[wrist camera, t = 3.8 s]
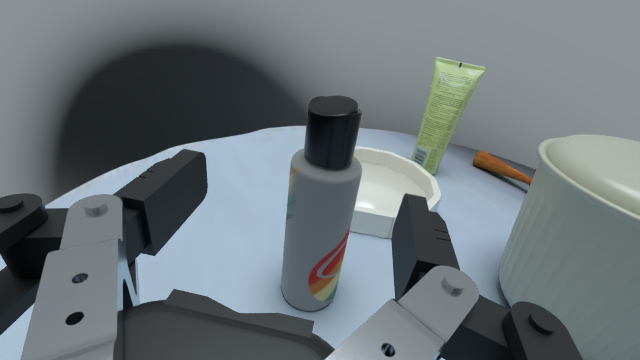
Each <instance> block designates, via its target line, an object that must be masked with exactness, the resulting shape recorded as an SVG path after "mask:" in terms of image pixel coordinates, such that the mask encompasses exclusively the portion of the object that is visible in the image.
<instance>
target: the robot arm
mask: <svg viewBox="0 0 640 360" xmlns="http://www.w3.org/2000/svg"><path fill="white" fill-rule="evenodd" d="M207 188H208V184H207V170H206V157H205V155H204V153H202V152H197V151H192V150H187V149H183V150H181V151H180V152H179V153H177V154H176V155H175V156H173V157H172V158H171V159H170V158H168V159H166V160H163V161H160V162H158V163H155V164H154V165H153V166H151V167H150V168H149V169H147V171H145V172H143V173H142V174H140V175H139V177H136V178H135V179H134V180H132V181H131V182H130V183H128V184H127V185H126V186H124V187H123V188H121V189H120V190H119V191H117V192H116V193H115V194H113V195H108V194H101V195H94V196H89V197H86V198H83V199H81V200H79V201H77V202H75V203H74V204H73V205H72V206H71V207H70V208H57V209H45V206H44V204H43V202H42V199H41V198H40V197H39V196H37V195H34V194H15V195H9V196H5V197H2V198H0V254H1V256H2V258H3V260H4V261H5V263H6V265H7V266H6V267H5V268H4V269H2V270H1V271H0V335H1V334H2V333H3V332H4V331H5V330H6V329H7V328H9V327H10V326H11V325H12V324H13V323H14V322H15V321H16V320H17V319H18V318H19V317H20V316H21V315H22V314H23V313H24V312H25V311H26V310H27V309H28V308H29V307H31V306H32V305H33V304H34V303H35V304H34V308H33V312H32V316H31V320H30V324H29V328H28V332H27V336H26V340H25V344H24V348H23V352H22V356H21V360H441V358H444V359H445V360H583V358H582V357H581V355H580V353H579V351H578V349H577V347H576V345H575V343H574V341H573V339H572V337H571V335H570V333H569V332H568V330H567V328H566V327H565V326H564V324H563V323H562V322H561V321H560V320H559V319H558V318H557V317H556V316H555V315H554V314H552V313H551V312H550V311H548V310H546V309H545V308H543V307H541V306H539V305H537V304H534V303H531V302H526V301H520V302H517V303H515V304H513V306H512V307H511V309H508V308H506V307H503V306H501V305H499V304H497V303H495V302H493V301H490V300H488V299H486V298H484V297H483V296H481V295H480V294H479V291H478V288H477V286H476V284H475V283H474V281H473V280H472V279H471V278H470V277H469V276H468V275H466V274H465V273H463V272H462V271H460V268H459V265H458V261H457V258H456V255H455V252H454V248H453V245H452V242H451V239H450V236H449V234H448V229H447V226H446V223H445V221H444V220H443V219H442V218H441V217H440V215H439V214H438V213H437V212H432V211H429V208H428V204H427V200H426V198H425V197H422V196H417V195H412V194H407V193H405V194H404V196H403V199H402V202H401V205H400V208H399V211H398V214H397V217H396V220H395V223H394V226H393V231H392V255H393V271H394V287H395V299H391V300H389V301H388V302H387V303H386V304H384V305H383V306H382V307H381V308H380V309H379V310H378V311H377V312H376V313H375V314H374V315H372V316H371V317H370V318H369V319H368V320H367V321H366V322H365V323H364V324H363V325H362V326H361V327H359V328H358V329H357V330H356V331H355V332H354V333H353V334H352V335H351V336H350V337H349V338H348V339H346V340H345V341H344V342H343V343H342V344H341V345H340V346H339V347H338V348H337V349H336V350H335V349H334V348H333V347H332V346H331V345H329V344H328V343H327V342H326V341H325V340H323V339H322V338H320V337H319V336H317V335H315V334H313V333H312V330H313V324H314V321H311V320H306V319H302V318H298V317H293V316H289V315H285V314H280V313H238V312H235V311H233V310H232V309H230V308H228V307H226V306H224V305H222V304H220V303H218V302H216V301H215V300H213V299H211V298H209V297H206V296H202V295H198V294H193V293H189V292H185V291H180V290H176V289H173V291H172V292H171V294H170V295H169V297H168V298H167V299H166V300H159V301H152V302H147V303H143V304H140V300H139V282H138V264H137V260H136V258H137V257H138V256H139V255H140V253H143V254H148V255H152V256H155V255H156V254H157V253H158V252H159V251H160V250H161V248H162V247H163V246H164V245H165V244H166V243H167V241H168V240H169V239H170V238H171V237H172V236H173V235H174V233H175V232H176V231H177V230H178V229H179V228H180V226H181V225H182V224H183V223H184V222H185V221H186V220H187V218H188V217H189V216H190V215H191V214H192V213H193V212H194V210H195V209H196V208H197V207H198V206H199V205H200V203H201V202H202V201H203V200H204V198H205V196H206V193H207Z"/></svg>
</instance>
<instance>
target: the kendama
mask: <svg viewBox="0 0 640 360" xmlns="http://www.w3.org/2000/svg"><path fill="white" fill-rule="evenodd" d="M473 165H475V166H477V167H480V168H483V169H486V170H489V171H492V172H495V173H498V174H501V175H504V176H507V177H510V178H513V179H516V180H518V181H521V182H524V183H527V184H528V185H529V186H530V184H531V182H532V179H533V178H530V177H528V176H526V175H525V174H523V173H521V172H519V171H517V170H516V169H514V168H512V167H510V166H509V165H507V164H505V163H503V162H502V161H500V160H498V159H496V158H495V157H493V156H491V155H489V154H488V153H486V152H484V151H480V152H478V153H477V154H476V156H475V157H474V160H473Z"/></svg>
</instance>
